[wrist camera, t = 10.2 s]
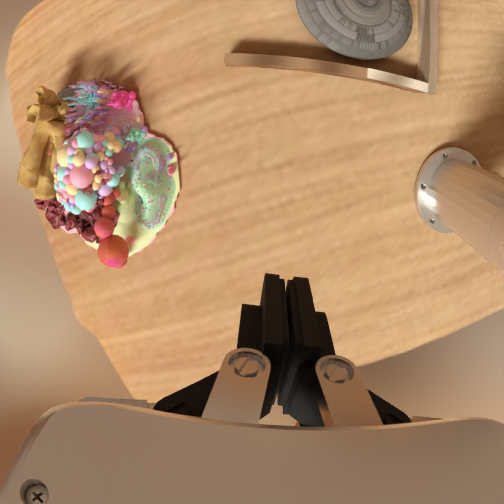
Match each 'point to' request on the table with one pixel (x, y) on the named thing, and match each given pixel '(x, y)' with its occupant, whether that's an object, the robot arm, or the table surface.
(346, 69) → the bay
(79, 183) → the candy landscape model
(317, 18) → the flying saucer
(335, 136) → the table surface
